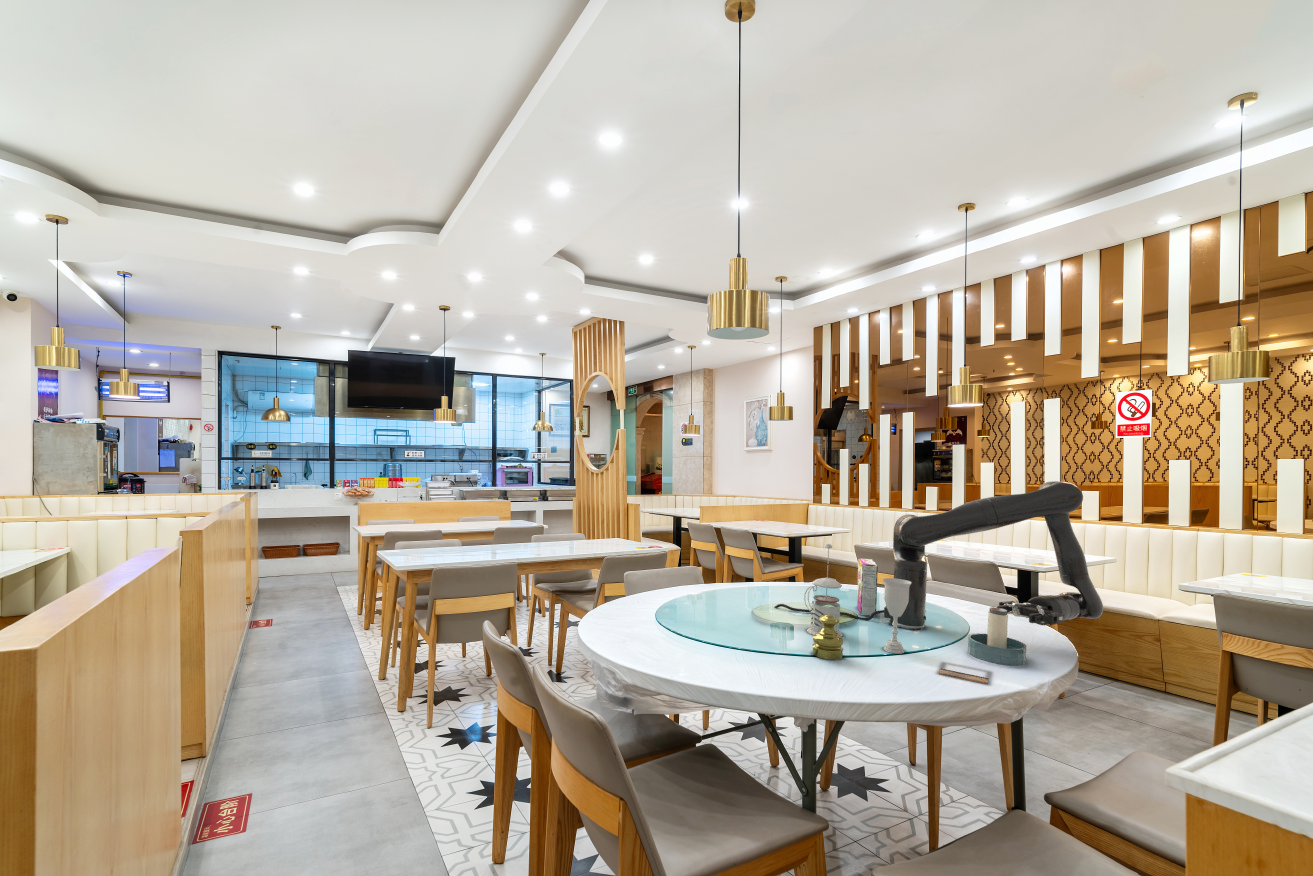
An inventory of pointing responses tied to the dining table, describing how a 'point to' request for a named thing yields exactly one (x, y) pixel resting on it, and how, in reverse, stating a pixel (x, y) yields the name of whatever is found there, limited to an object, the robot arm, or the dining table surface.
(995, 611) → the cream shaker
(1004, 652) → the bowl
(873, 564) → the candy bar box
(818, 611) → the french press
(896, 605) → the chalice
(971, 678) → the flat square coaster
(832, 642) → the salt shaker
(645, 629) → the dining table surface
